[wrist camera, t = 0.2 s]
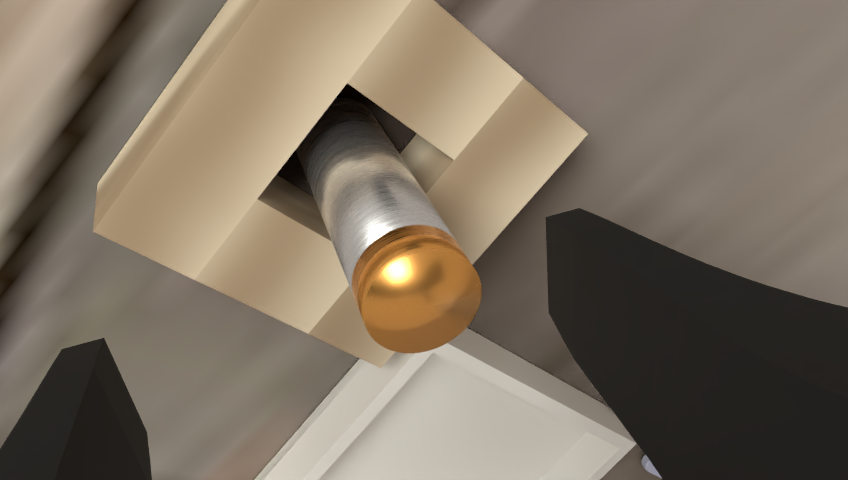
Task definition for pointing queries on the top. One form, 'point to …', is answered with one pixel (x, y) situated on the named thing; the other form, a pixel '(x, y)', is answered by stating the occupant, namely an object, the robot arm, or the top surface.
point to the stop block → (291, 122)
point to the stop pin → (387, 234)
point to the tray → (453, 422)
